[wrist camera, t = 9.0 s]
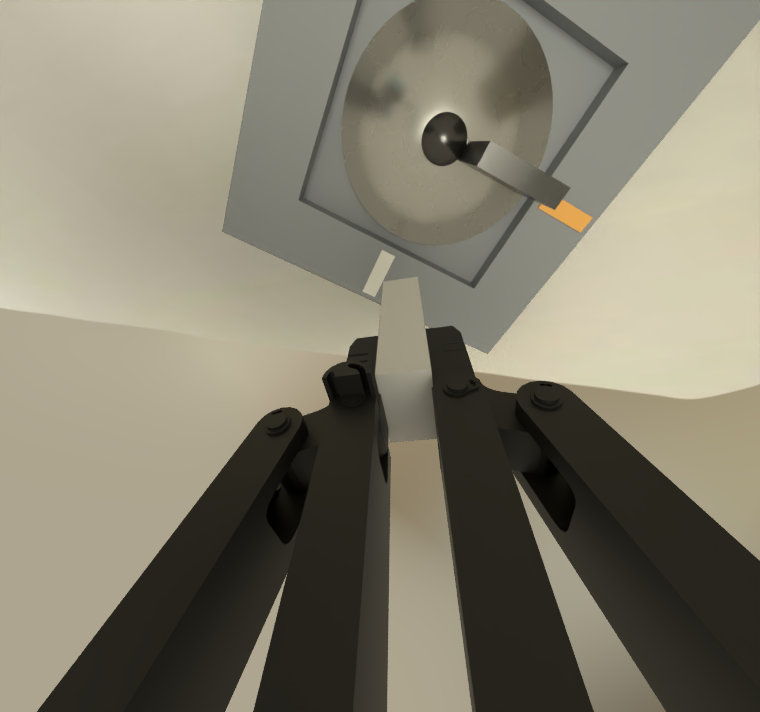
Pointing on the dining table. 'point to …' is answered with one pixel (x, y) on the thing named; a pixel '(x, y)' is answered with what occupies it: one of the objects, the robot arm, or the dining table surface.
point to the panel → (527, 218)
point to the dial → (449, 120)
